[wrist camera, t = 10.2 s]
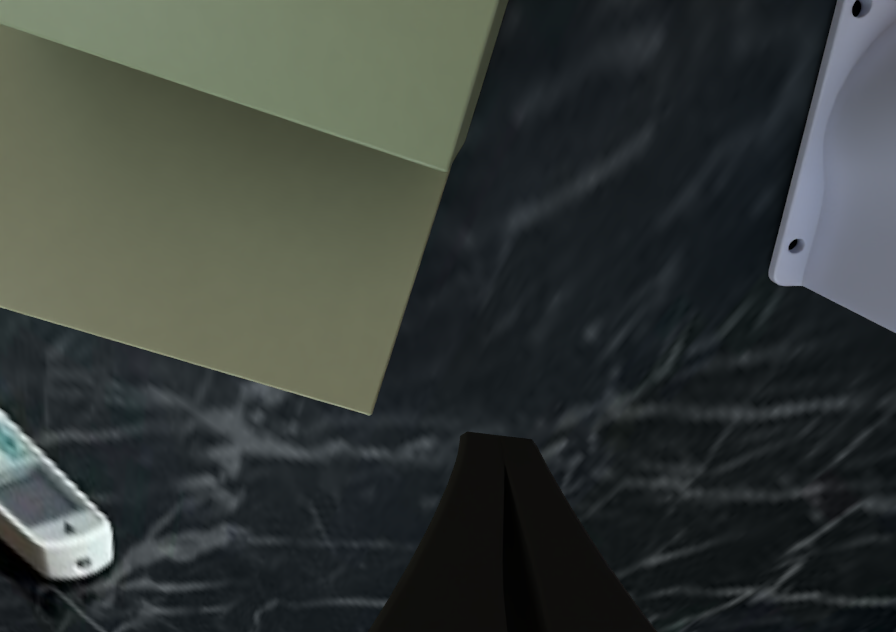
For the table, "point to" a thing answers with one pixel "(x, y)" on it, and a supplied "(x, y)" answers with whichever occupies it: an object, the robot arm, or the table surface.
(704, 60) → the table surface
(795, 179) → the robot arm
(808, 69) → the table surface
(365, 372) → the oven door
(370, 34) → the oven
